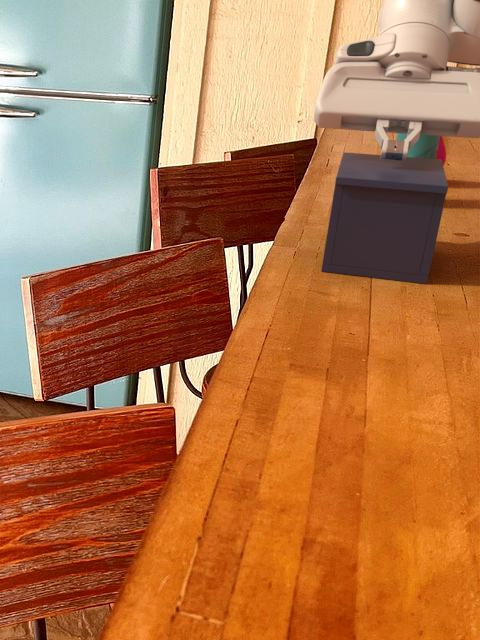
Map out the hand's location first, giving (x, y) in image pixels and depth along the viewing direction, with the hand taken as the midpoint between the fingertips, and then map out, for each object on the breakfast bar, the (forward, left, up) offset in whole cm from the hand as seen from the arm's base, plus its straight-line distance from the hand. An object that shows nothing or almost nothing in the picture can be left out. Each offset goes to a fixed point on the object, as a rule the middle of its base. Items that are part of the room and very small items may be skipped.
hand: (393, 157), depth 107 cm
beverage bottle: (-12, -35, -14) cm, 40 cm away
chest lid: (0, -1, -2) cm, 3 cm away
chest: (0, -1, -13) cm, 14 cm away
